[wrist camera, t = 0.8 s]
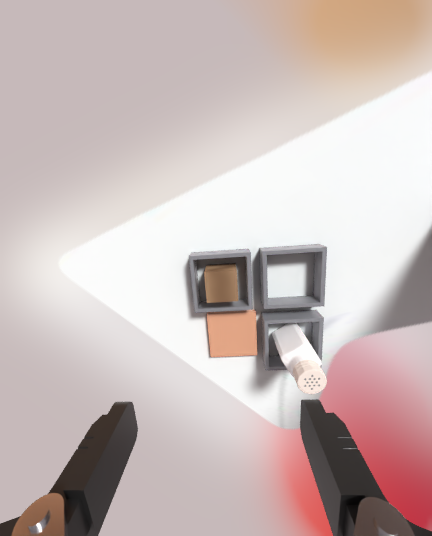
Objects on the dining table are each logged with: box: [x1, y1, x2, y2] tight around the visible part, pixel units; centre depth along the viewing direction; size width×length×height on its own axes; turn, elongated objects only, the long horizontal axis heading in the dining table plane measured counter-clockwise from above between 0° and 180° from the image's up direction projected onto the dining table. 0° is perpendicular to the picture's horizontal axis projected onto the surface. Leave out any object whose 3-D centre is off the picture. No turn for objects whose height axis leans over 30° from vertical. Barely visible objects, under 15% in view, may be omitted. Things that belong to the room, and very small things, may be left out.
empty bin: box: [260, 244, 327, 309], centre depth 30 cm, size 8×8×2 cm
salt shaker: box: [272, 323, 327, 394], centre depth 29 cm, size 4×4×10 cm
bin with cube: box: [189, 249, 253, 313], centre depth 31 cm, size 8×8×2 cm
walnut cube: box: [204, 263, 238, 303], centre depth 30 cm, size 4×4×4 cm
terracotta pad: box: [207, 310, 257, 357], centre depth 34 cm, size 7×7×1 cm
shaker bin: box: [262, 310, 324, 370], centre depth 32 cm, size 8×8×2 cm
